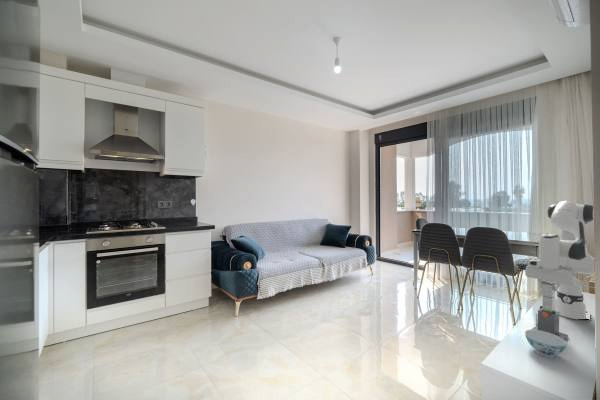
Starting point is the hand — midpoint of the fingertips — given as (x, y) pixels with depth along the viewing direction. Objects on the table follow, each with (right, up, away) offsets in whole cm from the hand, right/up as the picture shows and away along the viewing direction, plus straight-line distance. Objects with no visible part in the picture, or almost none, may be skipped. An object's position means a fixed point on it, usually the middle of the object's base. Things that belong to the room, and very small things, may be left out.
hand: (548, 289), depth 147 cm
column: (0, -18, 0) cm, 18 cm away
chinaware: (-17, -26, -16) cm, 35 cm away
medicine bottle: (+8, -26, +10) cm, 29 cm away
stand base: (0, -26, 0) cm, 26 cm away
